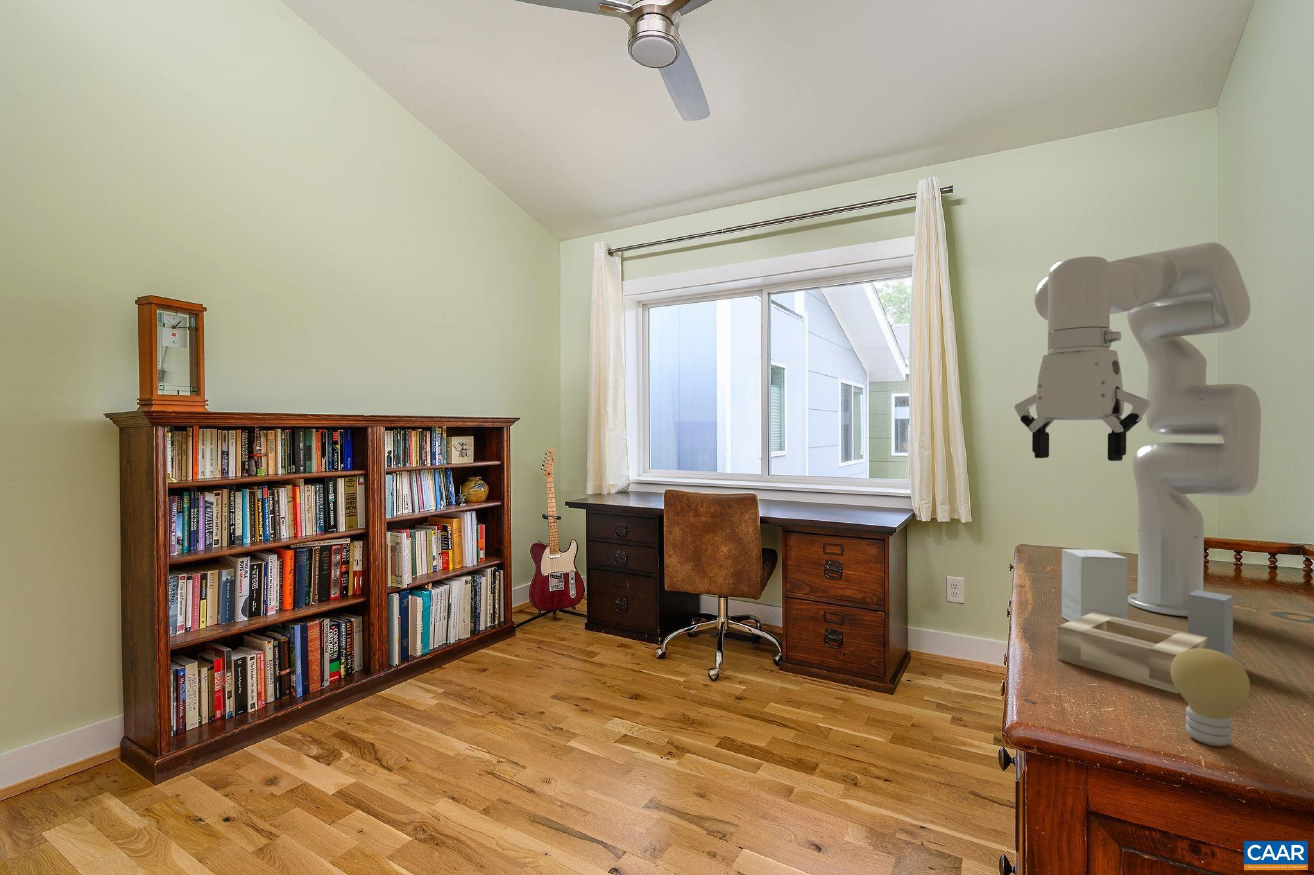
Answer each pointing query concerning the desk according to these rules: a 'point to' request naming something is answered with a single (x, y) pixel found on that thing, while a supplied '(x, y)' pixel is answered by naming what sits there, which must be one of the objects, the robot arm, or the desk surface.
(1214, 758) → the desk surface
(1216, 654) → the light bulb
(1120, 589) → the supplement box
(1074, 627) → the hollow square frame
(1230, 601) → the grey rectangular prism
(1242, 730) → the desk surface
